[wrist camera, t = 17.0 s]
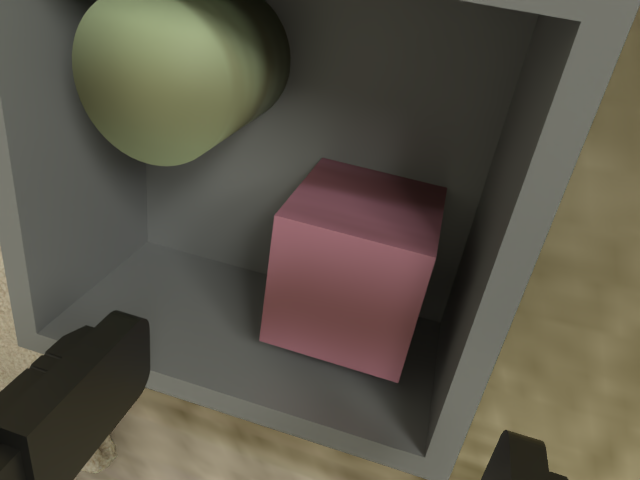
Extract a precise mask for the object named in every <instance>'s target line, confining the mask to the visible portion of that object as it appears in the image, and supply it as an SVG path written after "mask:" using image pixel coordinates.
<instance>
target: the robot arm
mask: <svg viewBox="0 0 640 480" xmlns="http://www.w3.org/2000/svg"><path fill="white" fill-rule="evenodd" d="M149 375H150V325H149V322H148V320H147V319H145V318H141V317H138V316H135V315H132V314H128V313H125V312H122V311H118V310H114V311H112V312H110V313H109V314H108V315H107V316H106V317H105V318H104V319H103V320H102V321H101V322H100V323H98V324H97V325H96V326H95V327H91V326H88V325H85V326H83V327H81V328H79V329H77V330H75V331H73V332H70V333H68V334H66V335H64V336H62V337H61V338H60V339H59V340H58V341H57V342H56V343H55V344H53V345H52V346H51V347H50V348H49V349H48V350H47V351H45V354H44V355H41V356H40V357H39V358H38V359H36V360H35V361H34V362H33V363H32V364H31V366H30V368H29V369H28V368H26V369H25V370H24V371H23V372H22V373H21V374H20V375H18V376H17V377H16V378H15V379H14V380H13V381H12V382H11V383H9V384H8V385H7V386H6V387H5V388H4V389H3V390H1V391H0V480H73V479H74V478H75V477H76V476H77V474H78V473H79V472H80V471H81V469H82V468H83V467H84V466H85V464H86V463H87V462H88V461H89V459H90V458H91V457H92V456H93V454H94V453H95V452H96V451H97V449H98V448H99V447H100V446H101V444H102V443H103V442H104V440H105V439H106V438H107V437H108V435H109V434H110V433H111V432H112V430H113V429H114V428H115V427H116V425H117V424H118V423H119V422H120V420H121V419H122V418H123V417H124V415H125V414H126V413H127V412H128V410H129V409H130V408H131V407H132V405H133V404H134V403H135V401H136V400H137V399H138V398H139V396H140V395H141V394H142V392H143V390H144V388H145V386H146V384H147V381H148V378H149ZM481 480H568V479H567V477H565V476H562V475H559V474H556V473H553V472H549V468H548V460H547V453H546V447H545V444H544V442H543V441H540V440H537V439H534V438H531V437H527V436H524V435H521V434H518V433H514V432H511V431H508V430H505V431H504V432H503V433H502V434H501V436H500V439H499V441H498V443H497V445H496V447H495V450H494V452H493V454H492V456H491V458H490V461H489V463H488V465H487V467H486V470H485V472H484V474H483V476H482V479H481Z"/></svg>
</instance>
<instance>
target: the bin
mask: <svg viewBox="0 0 640 480" xmlns="http://www.w3.org/2000/svg"><path fill="white" fill-rule="evenodd" d="M96 1H97V0H0V246H1V252H2V258H3V263H4V269H5V275H6V280H7V286H8V292H9V297H10V303H11V309H12V314H13V320H14V326H15V331H16V337H17V343H18V346H19V347H22V348H25V349H28V350H32V351H35V352H38V353H41V354H45V351H47V350H48V349H49V348H50V347H51V346H52V345H53V344H55V343H56V342H57V341H58V340H59V339H60V338H61V337H62V336H64V335H66V334H68V333H70V332H73V331H75V330H77V329H79V328H81V327H83V326H85V325H88V326H91V327H95V326H96V325H97V324H98V323H100V322H101V321H102V320H103V319H104V318H105V317H106V316H107V315H108V314H109V313H110V312H112V311H114V310H118V311H122V312H125V313H128V314H132V315H135V316H138V317H141V318H145V319H147V320H148V322H149V325H150V375H149V378H148V381H147V384H146V386H145V388H148V389H151V390H154V391H157V392H160V393H164V394H167V395H170V396H173V397H176V398H179V399H182V400H185V401H188V402H191V403H194V404H197V405H200V406H203V407H207V408H210V409H213V410H216V411H219V412H222V413H225V414H228V415H231V416H234V417H237V418H240V419H243V420H246V421H250V422H253V423H256V424H259V425H262V426H265V427H268V428H271V429H274V430H277V431H280V432H283V433H286V434H289V435H292V436H296V437H299V438H302V439H305V440H308V441H311V442H314V443H317V444H320V445H323V446H326V447H329V448H332V449H335V450H339V451H342V452H345V453H348V454H351V455H354V456H357V457H360V458H363V459H366V460H369V461H372V462H375V463H378V464H382V465H385V466H388V467H391V468H394V469H397V470H400V471H403V472H406V473H409V474H412V475H415V476H418V477H421V478H424V479H428V480H449V477H450V475H451V472H452V470H453V467H454V465H455V462H456V460H457V457H458V455H459V452H460V450H461V447H462V445H463V443H464V440H465V438H466V435H467V433H468V430H469V428H470V425H471V423H472V420H473V418H474V415H475V413H476V410H477V408H478V405H479V403H480V400H481V398H482V395H483V393H484V390H485V388H486V385H487V383H488V380H489V378H490V376H491V373H492V371H493V368H494V366H495V363H496V361H497V358H498V356H499V353H500V351H501V348H502V346H503V343H504V341H505V338H506V336H507V333H508V331H509V328H510V326H511V323H512V321H513V318H514V316H515V314H516V311H517V309H518V306H519V304H520V301H521V299H522V296H523V294H524V291H525V289H526V286H527V284H528V281H529V279H530V276H531V274H532V271H533V269H534V266H535V264H536V261H537V259H538V256H539V254H540V252H541V249H542V247H543V244H544V242H545V239H546V237H547V234H548V232H549V229H550V227H551V224H552V222H553V219H554V217H555V214H556V212H557V209H558V207H559V204H560V202H561V199H562V197H563V194H564V192H565V190H566V187H567V185H568V182H569V180H570V177H571V175H572V172H573V170H574V167H575V165H576V162H577V160H578V157H579V155H580V152H581V150H582V147H583V145H584V142H585V140H586V137H587V135H588V132H589V130H590V128H591V125H592V123H593V120H594V118H595V115H596V113H597V110H598V108H599V105H600V103H601V100H602V98H603V95H604V93H605V90H606V88H607V85H608V83H609V80H610V78H611V75H612V73H613V70H614V68H615V65H616V63H617V61H618V58H619V56H620V53H621V51H622V48H623V46H624V43H625V41H626V38H627V36H628V33H629V31H630V28H631V26H632V23H633V21H634V18H635V16H636V13H637V11H638V8H639V6H640V0H265V1H266V2H267V3H268V4H269V5H270V6H271V7H272V9H273V10H274V11H275V13H276V14H277V16H278V17H279V19H280V21H281V23H282V25H283V27H284V29H285V32H286V35H287V38H288V42H289V47H290V57H291V62H290V72H289V77H288V81H287V84H286V86H285V89H284V91H283V93H282V94H281V96H280V98H279V99H278V100H277V102H276V103H275V104H274V105H273V106H272V107H271V108H270V109H269V110H267V111H266V112H264V113H263V114H261V115H260V116H258V117H257V118H256V119H254V120H253V121H251V122H250V123H248V124H247V125H245V126H244V127H242V128H241V129H239V130H238V131H236V132H235V133H233V134H232V135H230V136H229V137H227V138H226V139H225V140H223V141H222V142H220V143H219V144H217V145H216V146H214V147H213V148H211V149H210V150H208V151H207V152H205V153H204V154H202V155H201V156H199V157H198V158H196V159H195V160H192V161H190V162H188V163H185V164H181V165H176V166H157V165H151V164H147V163H144V162H141V161H138V160H136V159H134V158H132V157H130V156H128V155H126V154H125V153H123V152H121V151H120V150H119V149H117V148H116V147H115V146H113V145H112V144H111V143H110V142H109V141H108V140H107V139H106V138H105V137H104V136H103V135H102V134H101V133H100V132H99V130H98V129H97V128H96V127H95V125H94V124H93V122H92V121H91V120H90V118H89V116H88V114H87V113H86V111H85V109H84V107H83V105H82V103H81V101H80V98H79V95H78V92H77V90H76V86H75V82H74V77H73V70H72V48H73V42H74V37H75V33H76V30H77V28H78V25H79V23H80V21H81V19H82V17H83V16H84V14H85V13H86V12H87V10H88V9H89V8H90V7H91V6H92V5H93V4H94V3H95V2H96ZM322 158H326V159H330V160H334V161H339V162H343V163H347V164H351V165H355V166H359V167H363V168H368V169H372V170H376V171H380V172H384V173H388V174H392V175H396V176H401V177H405V178H409V179H413V180H417V181H421V182H425V183H429V184H434V185H438V186H442V187H446V188H447V192H446V199H445V205H444V211H443V218H442V224H441V230H440V237H439V243H438V249H437V256H436V260H435V263H434V267H433V270H432V273H431V277H430V280H429V283H428V286H427V290H426V293H425V296H424V300H423V303H422V306H421V310H420V313H419V316H418V319H417V323H416V326H415V329H414V333H413V336H412V339H411V343H410V346H409V349H408V352H407V356H406V359H405V362H404V366H403V369H402V372H401V376H400V379H399V382H398V383H396V382H393V381H389V380H386V379H383V378H379V377H376V376H373V375H370V374H366V373H363V372H360V371H357V370H353V369H350V368H347V367H343V366H340V365H337V364H334V363H330V362H327V361H324V360H320V359H317V358H314V357H311V356H307V355H304V354H301V353H298V352H294V351H291V350H288V349H284V348H281V347H278V346H275V345H271V344H268V343H265V342H262V341H259V338H260V330H261V321H262V313H263V305H264V297H265V288H266V280H267V272H268V264H269V256H270V247H271V239H272V231H273V223H274V215H275V214H276V213H277V212H278V210H279V209H280V208H281V207H282V205H283V204H284V203H285V202H286V201H287V199H288V198H289V197H290V196H291V195H292V193H293V192H294V191H295V190H296V189H297V187H298V186H299V185H300V184H301V183H302V181H303V180H304V179H305V178H306V177H307V175H308V174H309V173H310V172H311V171H312V169H313V168H314V167H315V166H316V165H317V163H318V162H319V161H320V160H321V159H322Z"/></svg>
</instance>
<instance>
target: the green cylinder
mask: <svg viewBox="0 0 640 480" xmlns="http://www.w3.org/2000/svg"><path fill="white" fill-rule="evenodd" d="M290 62H291V57H290V47H289V42H288V38H287V35H286V32H285V29H284V27H283V25H282V23H281V21H280V19H279V17H278V16H277V14H276V13H275V11H274V10H273V9H272V7H271V6H270V5H269V4H268V3H267V2H266V1H265V0H97V1H96V2H95V3H94V4H93V5H92V6H91V7H90V8H89V9H88V10H87V12H86V13H85V14H84V16H83V17H82V19H81V21H80V23H79V25H78V28H77V30H76V33H75V37H74V42H73V48H72V70H73V77H74V82H75V86H76V90H77V92H78V95H79V98H80V101H81V103H82V105H83V107H84V109H85V111H86V113H87V114H88V116H89V118H90V120H91V121H92V122H93V124H94V125H95V127H96V128H97V129H98V130H99V132H100V133H101V134H102V135H103V136H104V137H105V138H106V139H107V140H108V141H109V142H110V143H111V144H112V145H113V146H115V147H116V148H117V149H119V150H120V151H121V152H123V153H125V154H126V155H128V156H130V157H132V158H134V159H136V160H138V161H141V162H144V163H147V164H151V165H157V166H176V165H181V164H185V163H188V162H190V161H192V160H195V159H196V158H198V157H199V156H201V155H202V154H204V153H205V152H207V151H208V150H210V149H211V148H213V147H214V146H216V145H217V144H219V143H220V142H222V141H223V140H225V139H226V138H227V137H229V136H230V135H232V134H233V133H235V132H236V131H238V130H239V129H241V128H242V127H244V126H245V125H247V124H248V123H250V122H251V121H253V120H254V119H256V118H257V117H258V116H260V115H261V114H263V113H264V112H266V111H267V110H269V109H270V108H271V107H272V106H273V105H274V104H275V103H276V102H277V100H278V99H279V98H280V96H281V94H282V93H283V91H284V89H285V86H286V84H287V81H288V77H289V72H290Z"/></svg>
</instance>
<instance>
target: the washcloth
mask: <svg viewBox="0 0 640 480" xmlns="http://www.w3.org/2000/svg"><path fill="white" fill-rule="evenodd" d="M41 355H44V354H41V353H38V352H35V351H32V350H28V349H25V348H22V347H19V346H18V343H17V337H16V331H15V326H14V320H13V314H12V309H11V303H10V297H9V292H8V286H7V280H6V275H5V269H4V263H3V258H2V252H1V246H0V391H1V390H3V389H4V388H5V387H6V386H7V385H8V384H9V383H11V382H12V381H13V380H14V379H15V378H16V377H17V376H18V375H20V374H21V373H22V372H23V371H24V370H25V369H26V368H28V369H29V368H30V366H31V364H32V363H33V362H34V361H35V360H36V359H38V358H39V357H40V356H41ZM114 448H115V444H114V443H113V442H112V440H111V438H110V434H109V435H108V437H107V438H106V439H105V440H104V442H103V443H102V444H101V446H100V447H99V448H98V449H97V451H96V452H95V453H94V454H93V456H92V457H91V458H90V459H89V461H88V462H87V463H86V464H85V466H84V467H83V468H82V469H81V471H83V472H84V471H87V472H91V473H93V474H94V473H98V472H99V471H102V470H104V469H105V468H107V467H108V466H109V465H110V464H111V463H112V461H113V460H114V459H115V458H116V457H117V455H116V454H114V452H115V449H114Z"/></svg>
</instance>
